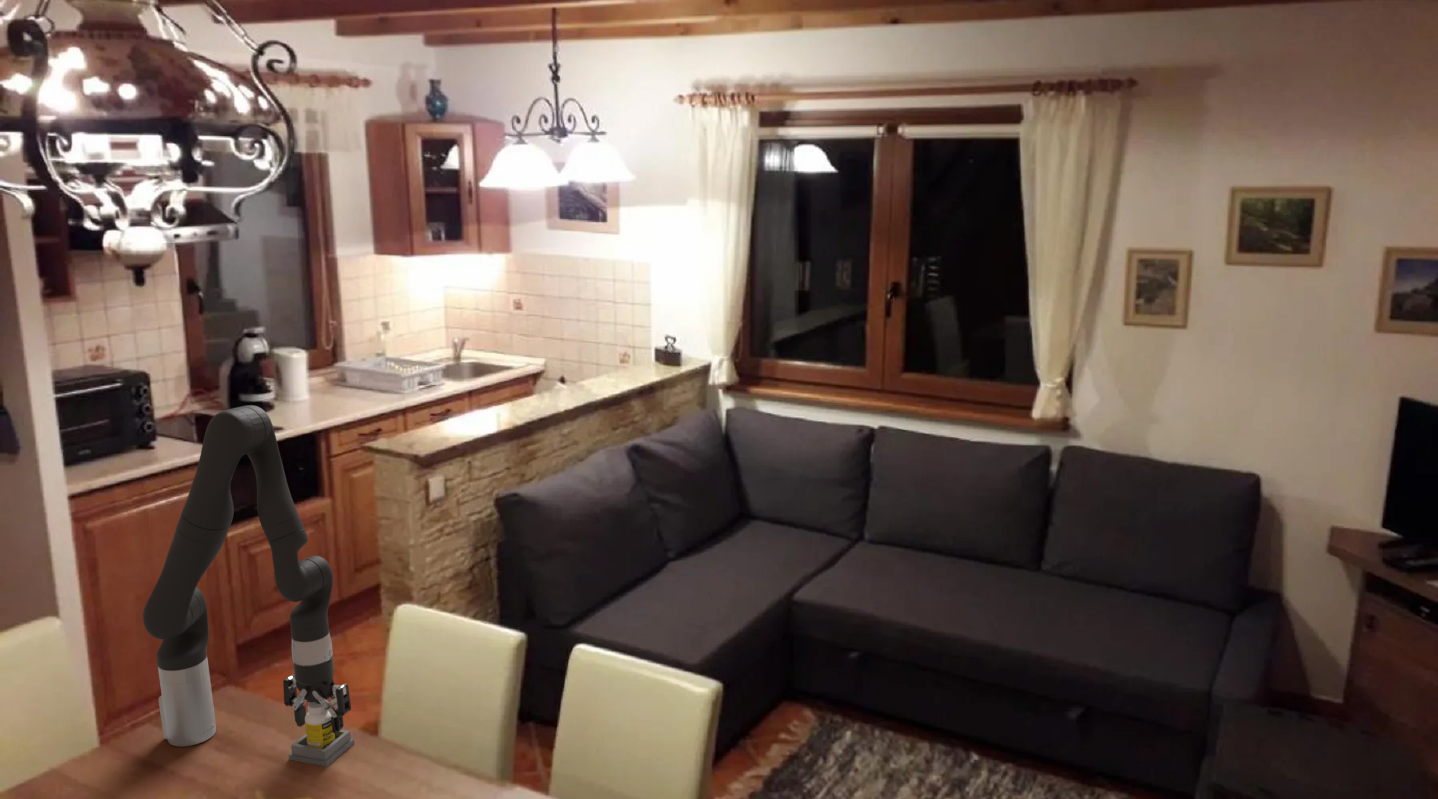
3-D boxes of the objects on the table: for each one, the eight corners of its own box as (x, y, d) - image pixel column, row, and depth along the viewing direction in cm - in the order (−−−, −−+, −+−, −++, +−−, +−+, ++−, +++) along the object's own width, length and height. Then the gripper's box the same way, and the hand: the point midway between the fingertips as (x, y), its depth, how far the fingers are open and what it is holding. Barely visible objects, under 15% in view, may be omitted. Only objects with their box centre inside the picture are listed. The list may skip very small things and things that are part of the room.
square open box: (289, 759, 217) (287, 746, 216) (317, 736, 225) (316, 723, 224) (326, 766, 214) (325, 753, 213) (354, 743, 222) (353, 730, 222)
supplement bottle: (326, 755, 216) (321, 711, 214) (302, 752, 217) (297, 708, 215) (340, 741, 221) (336, 698, 219) (317, 738, 222) (312, 695, 220)
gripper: (270, 658, 213) (278, 731, 217) (330, 668, 209) (338, 743, 213) (295, 642, 220) (302, 713, 224) (354, 651, 216) (360, 724, 220)
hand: (319, 727), depth 218 cm, fingers open, 8 cm apart
